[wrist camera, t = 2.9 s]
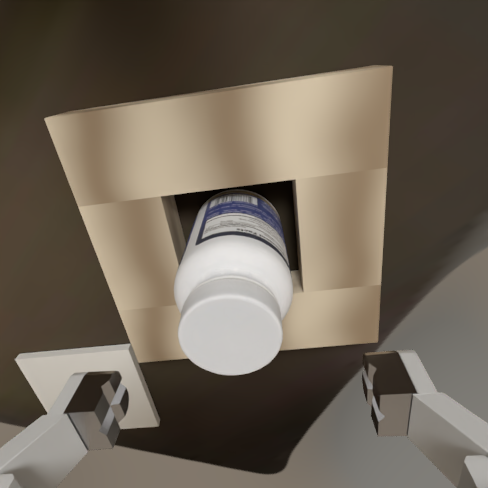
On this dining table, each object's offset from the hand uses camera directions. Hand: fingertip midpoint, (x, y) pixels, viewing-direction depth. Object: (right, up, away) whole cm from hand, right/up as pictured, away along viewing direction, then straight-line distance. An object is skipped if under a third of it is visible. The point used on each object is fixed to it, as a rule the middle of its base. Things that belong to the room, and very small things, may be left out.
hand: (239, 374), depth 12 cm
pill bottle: (0, +5, +10) cm, 12 cm away
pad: (-12, -8, +17) cm, 22 cm away
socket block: (0, +5, +10) cm, 11 cm away
